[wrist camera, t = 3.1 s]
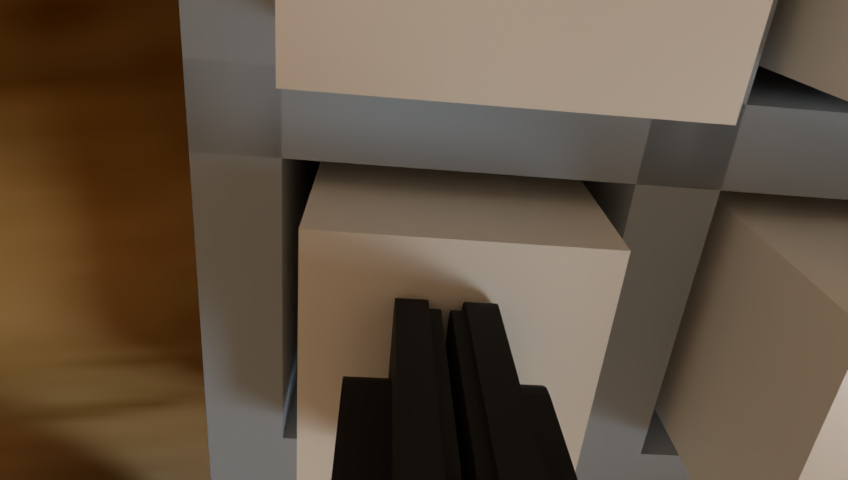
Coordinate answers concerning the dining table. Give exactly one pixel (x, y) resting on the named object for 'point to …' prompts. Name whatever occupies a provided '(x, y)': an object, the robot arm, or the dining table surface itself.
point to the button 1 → (529, 53)
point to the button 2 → (450, 282)
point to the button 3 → (764, 344)
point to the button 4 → (810, 44)
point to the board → (467, 152)
